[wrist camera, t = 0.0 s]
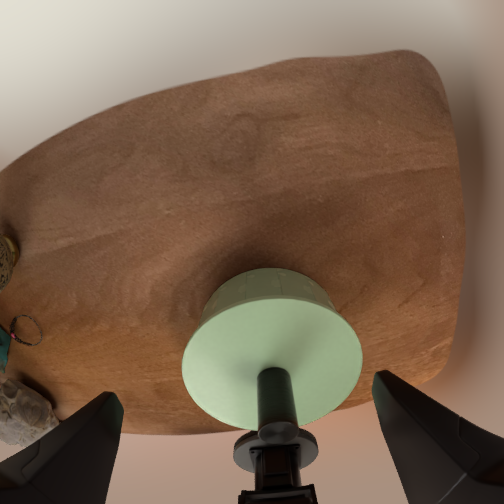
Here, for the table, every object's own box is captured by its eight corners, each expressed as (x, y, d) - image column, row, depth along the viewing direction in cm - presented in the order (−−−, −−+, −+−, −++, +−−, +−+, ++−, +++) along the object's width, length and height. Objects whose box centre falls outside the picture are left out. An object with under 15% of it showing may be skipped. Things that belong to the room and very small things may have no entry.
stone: (35, 363, 29) (55, 425, 24) (50, 386, 34) (71, 441, 28) (-23, 379, 22) (-10, 442, 17) (-3, 401, 26) (13, 457, 21)
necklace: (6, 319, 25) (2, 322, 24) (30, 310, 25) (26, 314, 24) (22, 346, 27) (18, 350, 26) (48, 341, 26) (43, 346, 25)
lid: (351, 409, 22) (369, 462, 16) (206, 425, 22) (198, 480, 16) (362, 277, 18) (403, 327, 12) (164, 301, 18) (132, 357, 13)
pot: (333, 370, 27) (348, 412, 21) (215, 383, 27) (209, 427, 22) (334, 258, 23) (358, 289, 17) (188, 276, 24) (170, 311, 18)
